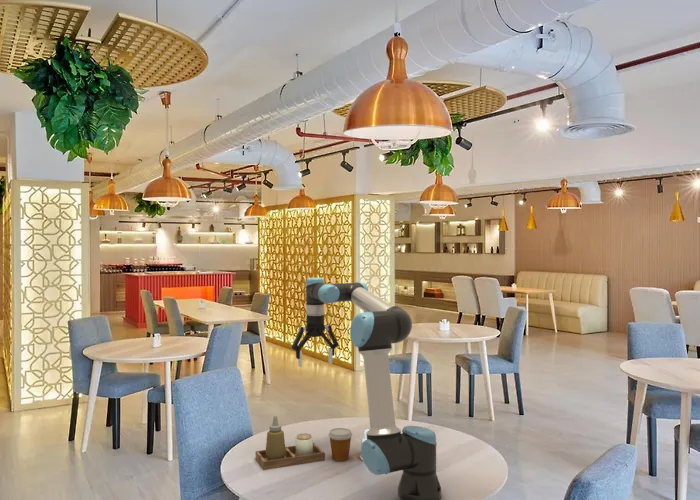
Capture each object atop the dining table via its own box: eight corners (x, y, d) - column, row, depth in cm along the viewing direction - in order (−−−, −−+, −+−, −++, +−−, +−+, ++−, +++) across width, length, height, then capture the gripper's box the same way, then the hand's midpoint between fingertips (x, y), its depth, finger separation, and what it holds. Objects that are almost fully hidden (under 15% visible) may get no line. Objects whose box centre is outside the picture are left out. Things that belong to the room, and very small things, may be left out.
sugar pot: (315, 458, 239) (315, 437, 239) (298, 461, 237) (298, 439, 237) (309, 453, 246) (309, 432, 246) (293, 455, 243) (293, 434, 243)
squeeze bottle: (263, 459, 239) (262, 415, 238) (282, 456, 242) (282, 412, 242) (268, 466, 231) (268, 420, 231) (288, 463, 235) (288, 418, 234)
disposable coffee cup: (349, 466, 234) (349, 435, 234) (326, 464, 236) (326, 434, 236) (354, 457, 244) (354, 428, 244) (331, 455, 246) (331, 427, 245)
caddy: (324, 462, 238) (324, 452, 238) (263, 472, 228) (263, 462, 228) (313, 452, 250) (313, 442, 250) (255, 461, 240) (255, 451, 240)
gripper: (339, 312, 258) (339, 360, 258) (283, 315, 248) (284, 365, 248) (345, 314, 251) (346, 364, 252) (289, 317, 241) (289, 369, 241)
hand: (315, 365), depth 250 cm, fingers open, 13 cm apart
